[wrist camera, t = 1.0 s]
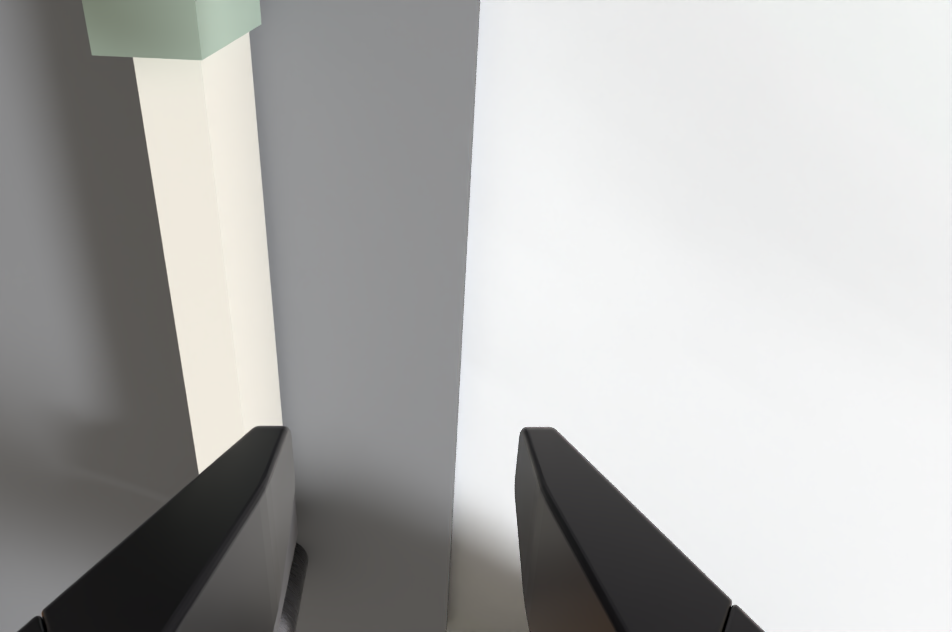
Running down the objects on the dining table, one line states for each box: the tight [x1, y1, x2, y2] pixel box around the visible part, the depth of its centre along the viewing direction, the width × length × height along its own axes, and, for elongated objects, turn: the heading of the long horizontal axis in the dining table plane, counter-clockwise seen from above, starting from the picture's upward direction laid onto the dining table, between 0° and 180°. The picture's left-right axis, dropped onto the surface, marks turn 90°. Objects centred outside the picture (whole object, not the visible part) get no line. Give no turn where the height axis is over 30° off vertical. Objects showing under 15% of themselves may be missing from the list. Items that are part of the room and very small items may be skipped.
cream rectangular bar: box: [82, 0, 298, 632], centre depth 18 cm, size 18×2×5 cm, turn 177°
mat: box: [0, 0, 480, 632], centre depth 21 cm, size 27×26×1 cm
